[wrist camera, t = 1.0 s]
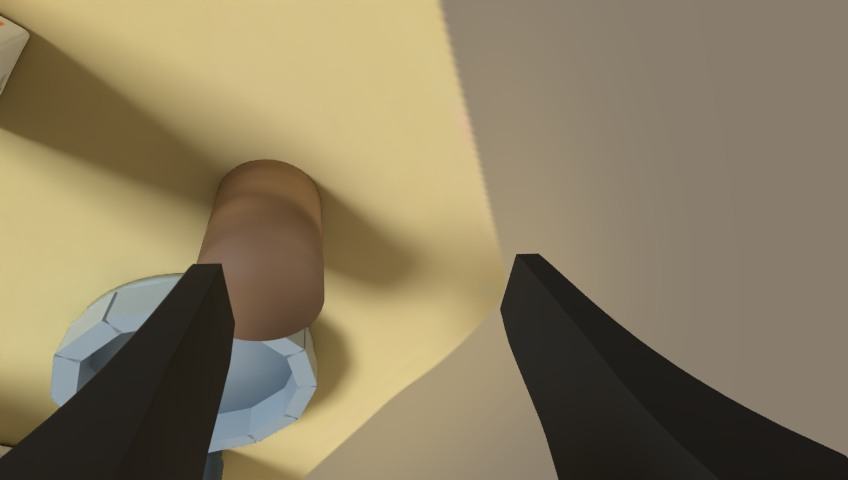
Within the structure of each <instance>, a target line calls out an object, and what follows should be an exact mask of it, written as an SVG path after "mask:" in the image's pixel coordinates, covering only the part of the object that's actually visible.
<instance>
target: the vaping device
mask: <svg viewBox="0 0 848 480" xmlns="http://www.w3.org/2000/svg"><path fill="white" fill-rule="evenodd" d="M222 473H223V460H222V458H221V452H220V451H215V452H210V453H208V455H207V460H206V465H205V470H204V475H203V480H222Z"/></svg>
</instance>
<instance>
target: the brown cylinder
mask: <svg viewBox="0 0 848 480" xmlns="http://www.w3.org/2000/svg"><path fill="white" fill-rule="evenodd" d="M213 263H222V268H223V272H224V277H225V281H226V285H227V290H228V294H229V299H230V303H231V307H232V312H233V316H234V320H235V329H234V338H235V339H239V340H246V341H270V340H277V339H281V338H285V337H288V336H291V335H293V334H296V333H298V332H299V331H301V330H303V329H305V328H306V327H307V326H309V325H310V324H311V323H312V322H313V321H314V320H315V319H316V318H317V317H318V315H319V313H320V312H321V310H322V307H323V304H324V270H323V242H322V215H321V198H320V194H319V191H318V189H317V187H316V185H315V184H314V182H313V181H312V180H311V178H310V177H309V176H308V175H306V174H305V173H304V172H303V171H301V170H300V169H298V168H296V167H295V166H293V165H290V164H288V163H285V162H281V161H276V160H255V161H250V162H247V163H243V164H241V165H239V166H237V167H236V168H234V169H233V170H231V171H230V172H229V173H228V174H227V175H226V176H225V177H224V178H223V180H222V182H221V183H220V186H219V189H218V192H217V195H216V199H215V202H214V206H213V209H212V212H211V216H210V219H209V223H208V226H207V230H206V233H205V236H204V240H203V243H202V247H201V250H200V254H199V257H198V260H197V264H213Z"/></svg>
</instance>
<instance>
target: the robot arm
mask: <svg viewBox="0 0 848 480" xmlns="http://www.w3.org/2000/svg"><path fill="white" fill-rule="evenodd" d="M500 310H501V314H502V318H503V322H504V327H505V330H506V334H507V338H508V341H509V344H510V347H511V350H512V352H513V355H514V357H515V360H516V362H517V365H518V367H519V370H520V372H521V375H522V377H523V379H524V382H525V384H526V387H527V389H528V392H529V394H530V396H531V399H532V401H533V404H534V406H535V409H536V411H537V414H538V416H539V419H540V421H541V424H542V427H543V429H544V432H545V435H546V438H547V442H548V445H549V448H550V452H551V455H552V458H553V462H554V465H555V469H556V472H557V476H558V479H559V480H848V458H847V457H846V456H845V455H843V454H841V453H839V452H837V451H835V450H833V449H830V448H828V447H826V446H824V445H822V444H819V443H817V442H815V441H813V440H811V439H809V438H807V437H804V436H802V435H800V434H798V433H796V432H794V431H791V430H789V429H787V428H785V427H783V426H781V425H779V424H777V423H775V422H773V421H771V420H769V419H767V418H765V417H764V416H762V415H760V414H758V413H756V412H754V411H752V410H750V409H748V408H746V407H744V406H742V405H741V404H739V403H737V402H735V401H734V400H732V399H730V398H728V397H726V396H724V395H723V394H721V393H720V392H718V391H716V390H715V389H713V388H711V387H710V386H708V385H706V384H704V383H703V382H701V381H700V380H698V379H696V378H694V377H693V376H691V375H690V374H688V373H687V372H685V371H684V370H682V369H680V368H679V367H677V366H676V365H674V364H673V363H671V362H670V361H669V360H667V359H666V358H664V357H663V356H661V355H660V354H658V353H657V352H655V351H654V350H653V349H651V348H650V347H648V346H647V345H646V344H644V343H643V342H642V341H640V340H639V339H638V338H636V337H635V336H634V335H632V334H631V333H630V332H629V331H627V330H626V329H625V328H623V327H622V326H621V325H620V324H618V323H617V322H616V321H615V320H613V319H612V318H611V317H610V316H609V315H608V314H606V313H605V312H604V311H603V310H601V309H600V308H599V307H598V306H597V305H595V304H594V303H593V302H592V301H591V300H590V299H589V298H588V297H587V296H585V295H584V294H583V293H582V292H581V291H580V290H578V288H576V287H575V286H574V285H573V284H572V283H571V282H570V281H569V280H568V279H566V278H565V277H564V276H563V275H562V274H561V273H560V272H558V270H557V269H555V268H554V267H553V266H552V265H551V264H550V263H549V262H548V261H546V260H545V259H544V258H543V257H542V256H541V255H539V254H517V255H516V257H515V261H514V264H513V267H512V271H511V274H510V278H509V281H508V284H507V288H506V291H505V294H504V298H503V301H502V305H501V308H500ZM234 329H235V320H234V316H233V312H232V307H231V303H230V299H229V294H228V290H227V285H226V281H225V277H224V272H223V268H222V263H213V264H193V265H192V266H190V267H189V268H188V270H187V271H186V272H185V273H184V275H183V276H182V277H181V278H180V280H179V281H178V282H177V283H176V285H175V286H174V287H173V288H172V290H171V291H170V292H169V293H168V295H167V296H166V297H165V298H164V299H163V301H162V302H161V303H160V304H159V305H158V307H157V308H156V309H155V310H154V311H153V313H152V314H151V315H150V316H149V317H148V318H147V319H146V321H145V322H144V323H143V324H142V325H141V326H140V327H139V329H138V330H137V331H136V332H135V333H134V334H133V335H132V337H131V338H130V339H129V340H128V341H127V342H126V343H125V344H124V345H123V346H122V347H121V348H120V349H119V350H118V351H117V353H116V354H115V355H114V356H113V357H112V358H111V359H110V360H109V361H108V362H107V363H106V364H105V365H104V366H103V367H102V368H101V369H100V370H99V371H98V372H97V373H96V374H95V375H94V376H93V377H92V378H91V379H90V380H89V381H88V382H87V383H86V384H85V385H84V386H83V387H82V388H81V389H80V390H79V391H78V392H77V393H76V394H74V395H73V396H72V397H71V398H70V399H69V400H68V401H67V402H66V403H65V404H64V405H62V406H61V407H60V408H59V409H58V410H57V411H56V412H55V413H54V414H52V415H51V416H50V417H49V418H48V419H47V420H46V421H44V422H43V423H42V424H41V425H40V426H38V427H37V428H36V429H35V430H34V431H32V432H31V433H30V434H29V435H28V436H27V437H25V438H24V439H23V440H22V441H21V442H19V443H18V444H17V445H16V446H14V447H13V448H12V449H11V450H10V451H8V452H7V453H6V454H5V455H3V456H2V457H1V458H0V480H203V475H204V470H205V465H206V460H207V455H208V451H209V447H210V443H211V439H212V435H213V431H214V427H215V423H216V419H217V415H218V411H219V407H220V404H221V400H222V396H223V392H224V387H225V383H226V379H227V375H228V371H229V367H230V362H231V355H232V347H233V338H234Z"/></svg>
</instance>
